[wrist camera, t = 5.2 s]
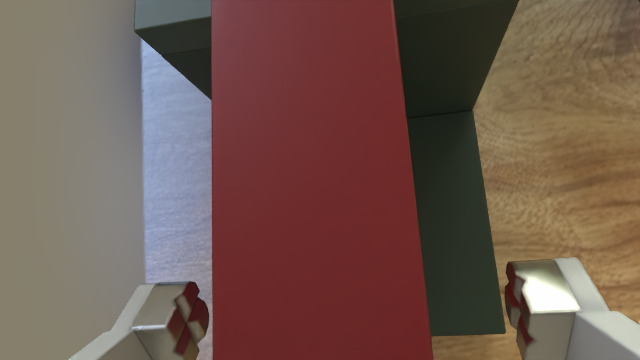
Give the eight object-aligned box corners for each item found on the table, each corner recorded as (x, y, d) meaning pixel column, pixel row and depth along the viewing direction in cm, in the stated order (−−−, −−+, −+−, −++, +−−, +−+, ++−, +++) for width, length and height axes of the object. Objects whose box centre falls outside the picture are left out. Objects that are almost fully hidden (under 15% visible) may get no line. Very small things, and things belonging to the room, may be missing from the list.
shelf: (274, 334, 24) (117, 411, 11) (261, -40, 30) (145, -292, 17) (493, 326, 22) (627, 407, 9) (436, -74, 28) (466, -393, 15)
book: (333, 309, 21) (210, 375, 8) (322, 154, 23) (209, -9, 10) (414, 305, 21) (434, 370, 7) (397, 146, 22) (388, -43, 9)
